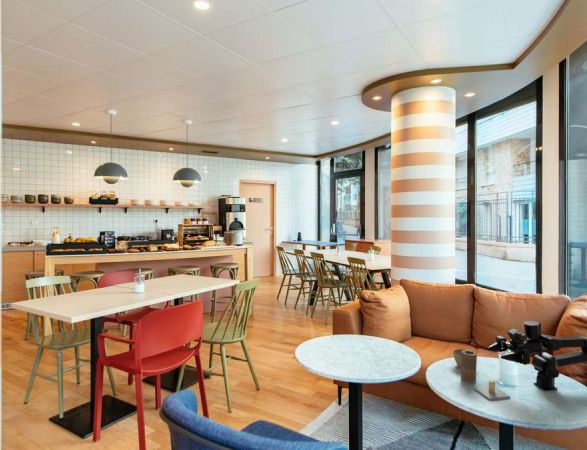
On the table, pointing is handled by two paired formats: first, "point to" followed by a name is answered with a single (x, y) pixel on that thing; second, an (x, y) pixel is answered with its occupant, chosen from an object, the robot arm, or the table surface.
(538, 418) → the table surface
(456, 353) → the flower pot
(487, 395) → the post stand
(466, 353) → the brown faceted vase
